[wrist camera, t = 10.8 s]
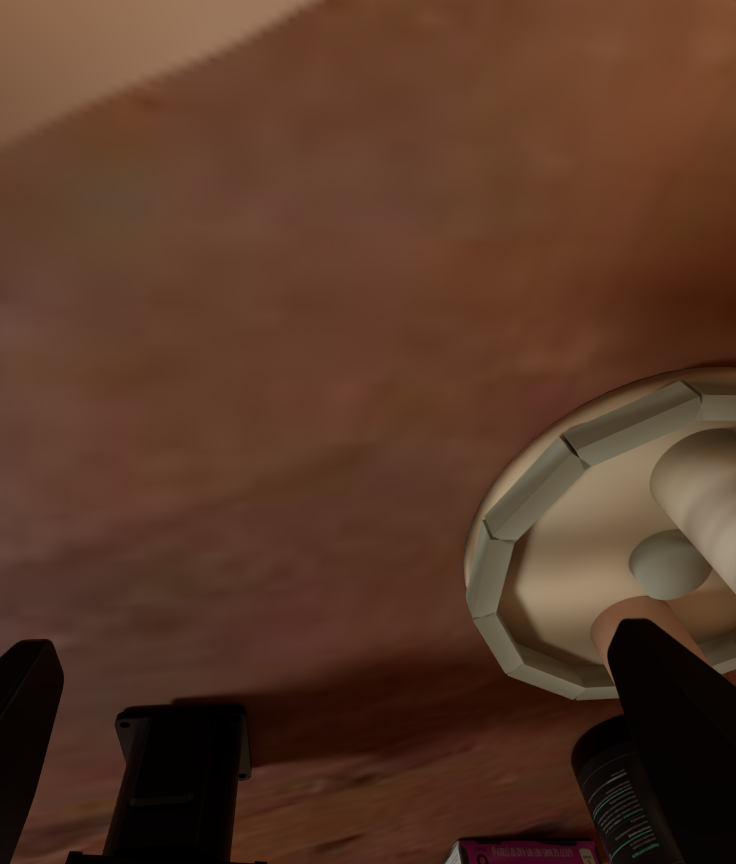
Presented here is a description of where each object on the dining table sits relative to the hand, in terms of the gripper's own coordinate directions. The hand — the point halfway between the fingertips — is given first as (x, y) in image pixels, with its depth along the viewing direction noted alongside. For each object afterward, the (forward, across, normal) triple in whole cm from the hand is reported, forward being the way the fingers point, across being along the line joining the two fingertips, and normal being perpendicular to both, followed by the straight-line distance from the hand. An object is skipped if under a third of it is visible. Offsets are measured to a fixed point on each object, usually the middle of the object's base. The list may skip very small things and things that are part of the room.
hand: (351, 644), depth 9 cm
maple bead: (+11, -15, +4) cm, 19 cm away
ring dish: (+12, -15, +9) cm, 21 cm away
